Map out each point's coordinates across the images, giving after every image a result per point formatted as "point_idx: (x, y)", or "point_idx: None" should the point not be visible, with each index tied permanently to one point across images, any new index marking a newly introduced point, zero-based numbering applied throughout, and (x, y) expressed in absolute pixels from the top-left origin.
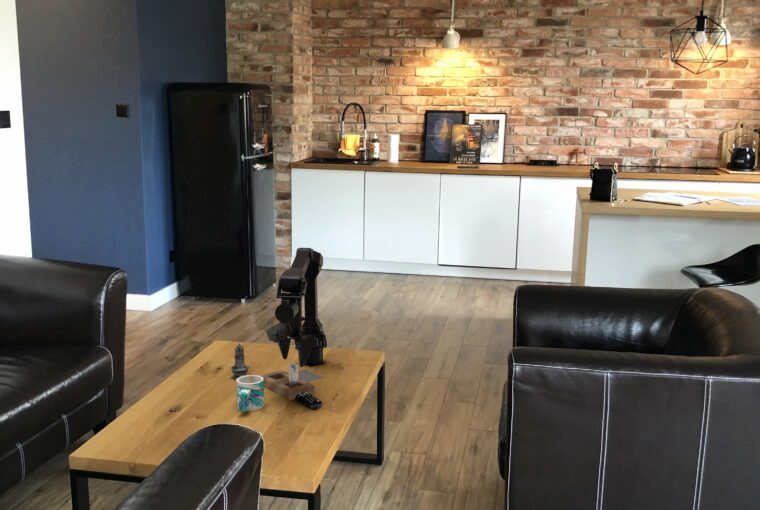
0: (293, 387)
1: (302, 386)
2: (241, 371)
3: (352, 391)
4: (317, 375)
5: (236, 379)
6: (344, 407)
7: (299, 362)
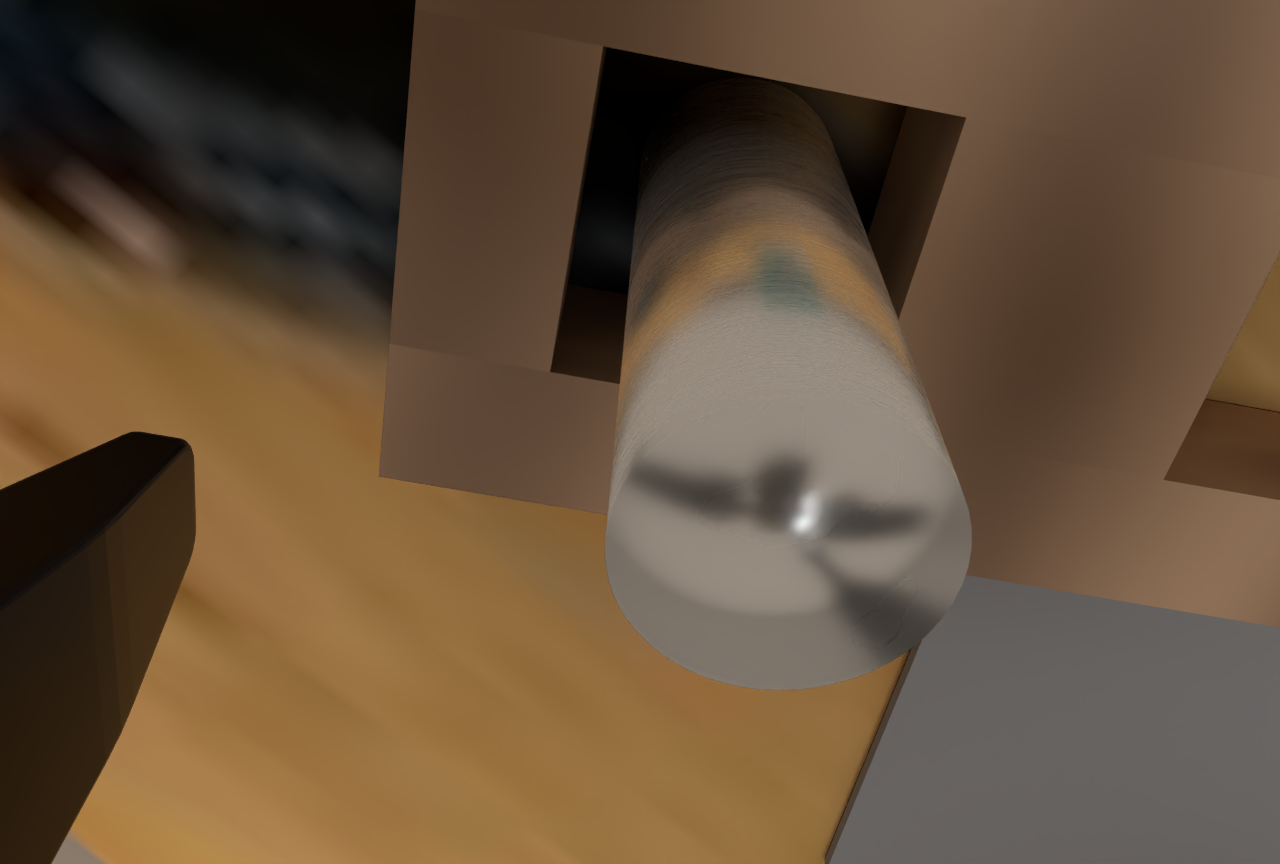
0: (667, 160)
1: (494, 287)
2: None
3: (134, 769)
4: None
5: None
6: None
7: (52, 520)
